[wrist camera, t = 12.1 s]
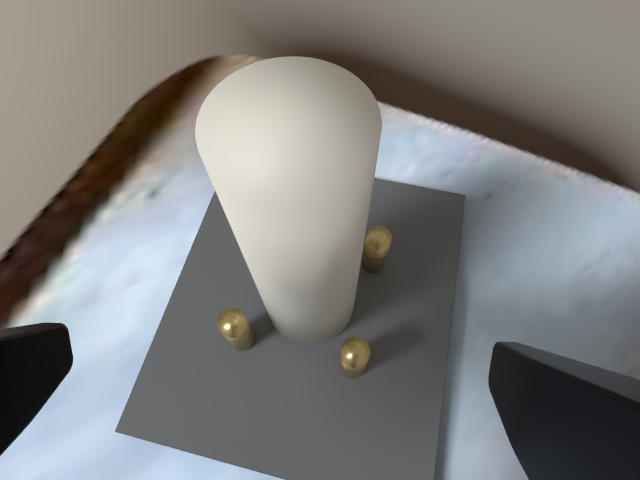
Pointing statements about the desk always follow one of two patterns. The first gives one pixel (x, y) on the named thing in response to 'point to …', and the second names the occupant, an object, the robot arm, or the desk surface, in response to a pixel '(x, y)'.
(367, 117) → the cream post
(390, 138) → the desk surface
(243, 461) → the charcoal plate
